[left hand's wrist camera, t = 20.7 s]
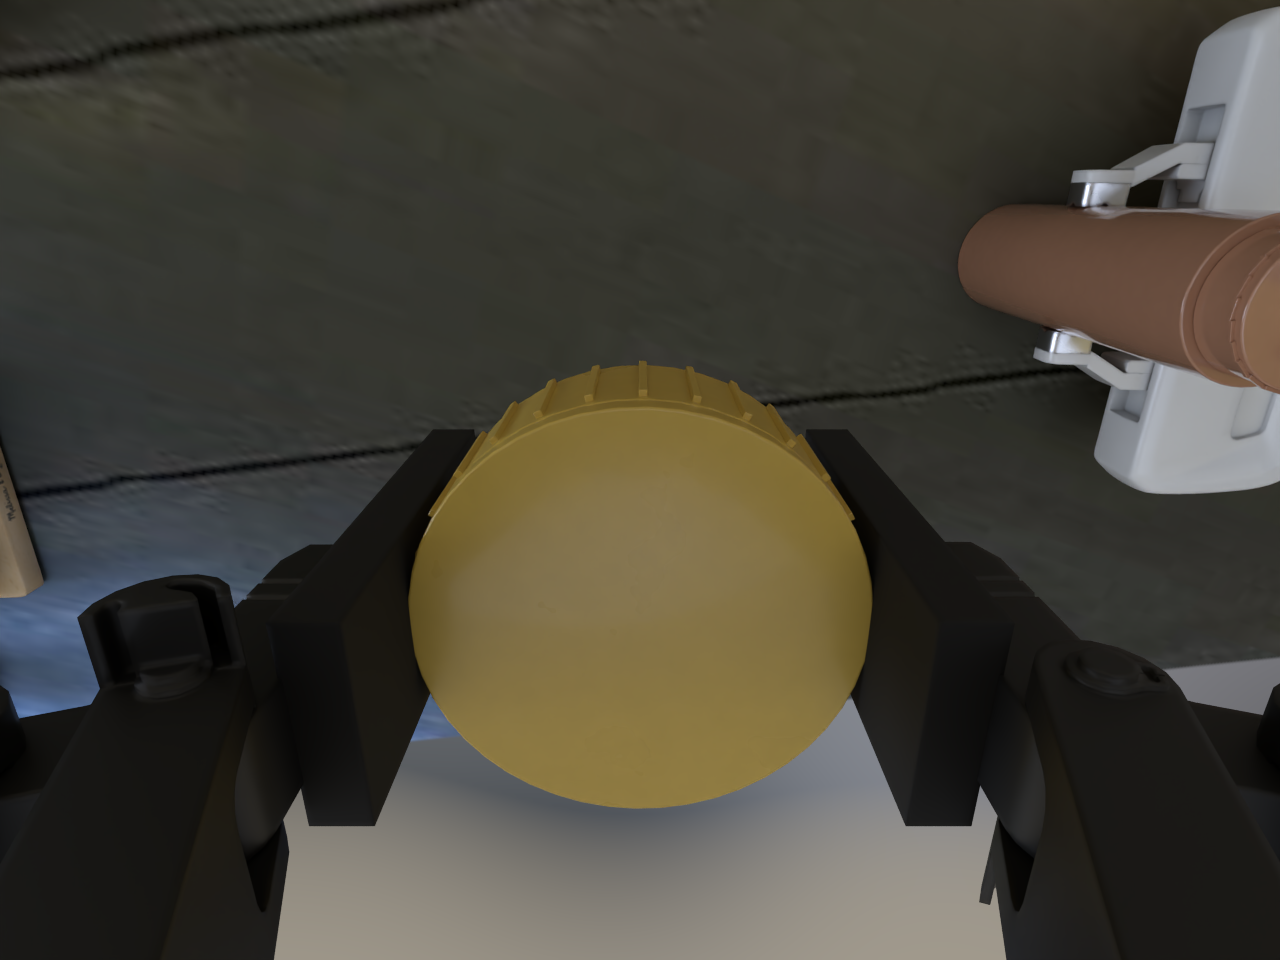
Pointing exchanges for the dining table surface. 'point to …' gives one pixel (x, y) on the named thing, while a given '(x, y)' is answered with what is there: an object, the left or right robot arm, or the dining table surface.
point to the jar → (1140, 282)
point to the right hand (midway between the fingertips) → (1058, 270)
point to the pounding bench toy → (15, 544)
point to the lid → (640, 590)
